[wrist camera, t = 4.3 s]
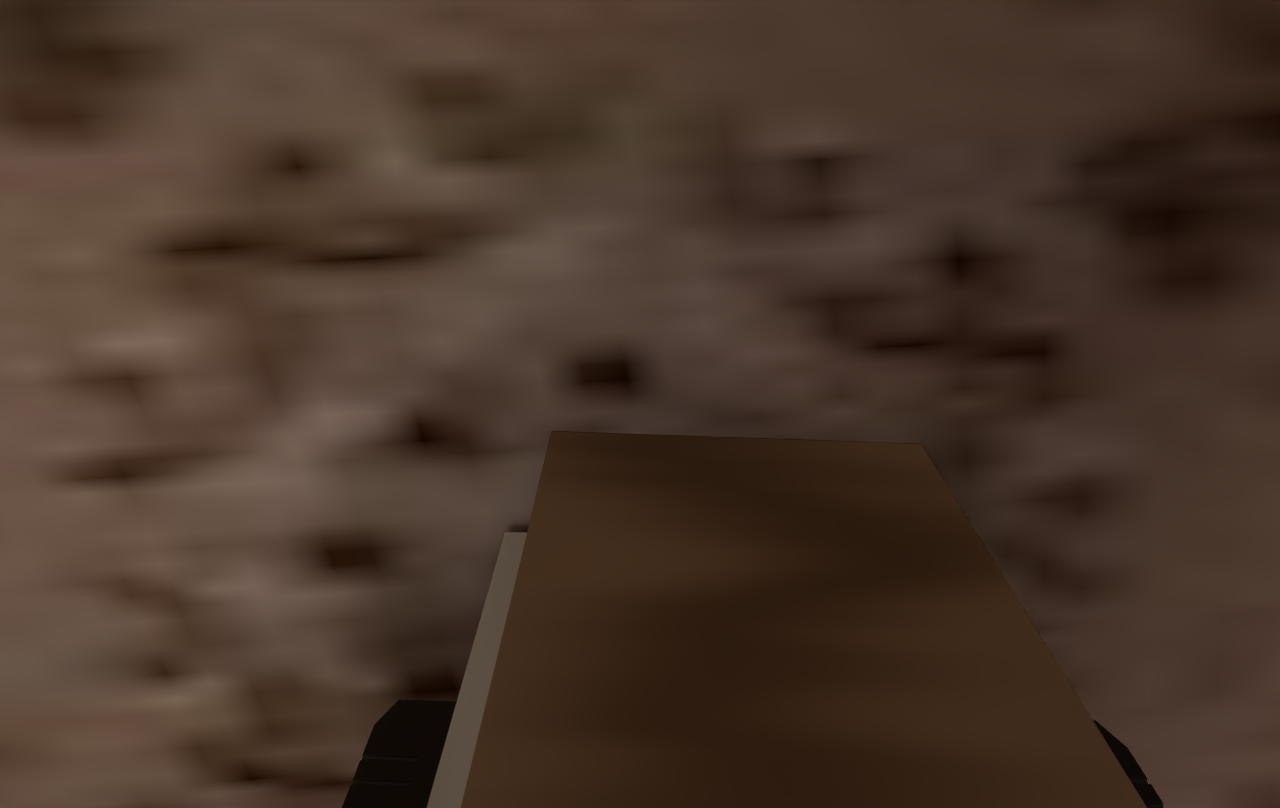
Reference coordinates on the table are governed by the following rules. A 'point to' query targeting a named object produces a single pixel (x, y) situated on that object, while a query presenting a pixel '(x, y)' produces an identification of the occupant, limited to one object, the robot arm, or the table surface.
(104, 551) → the table surface
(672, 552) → the walnut block
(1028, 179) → the table surface
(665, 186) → the table surface
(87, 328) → the table surface
